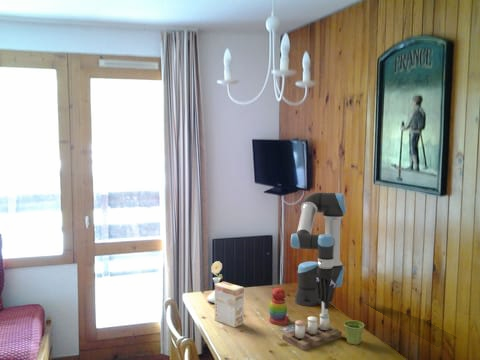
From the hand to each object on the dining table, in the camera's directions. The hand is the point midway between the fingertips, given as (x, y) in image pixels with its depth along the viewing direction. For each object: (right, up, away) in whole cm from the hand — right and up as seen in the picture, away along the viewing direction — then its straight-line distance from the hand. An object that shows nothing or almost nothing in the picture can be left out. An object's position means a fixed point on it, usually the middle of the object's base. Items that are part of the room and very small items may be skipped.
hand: (324, 314), depth 216 cm
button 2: (0, -7, +1) cm, 7 cm away
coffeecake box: (-47, -9, +16) cm, 50 cm away
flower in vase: (-55, -7, +46) cm, 71 cm away
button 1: (-13, -8, -8) cm, 17 cm away
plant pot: (+12, -11, -8) cm, 18 cm away
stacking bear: (-21, -9, +17) cm, 28 cm away
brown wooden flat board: (-6, -10, -4) cm, 13 cm away
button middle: (-6, -7, -4) cm, 10 cm away
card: (-15, -9, +8) cm, 19 cm away
